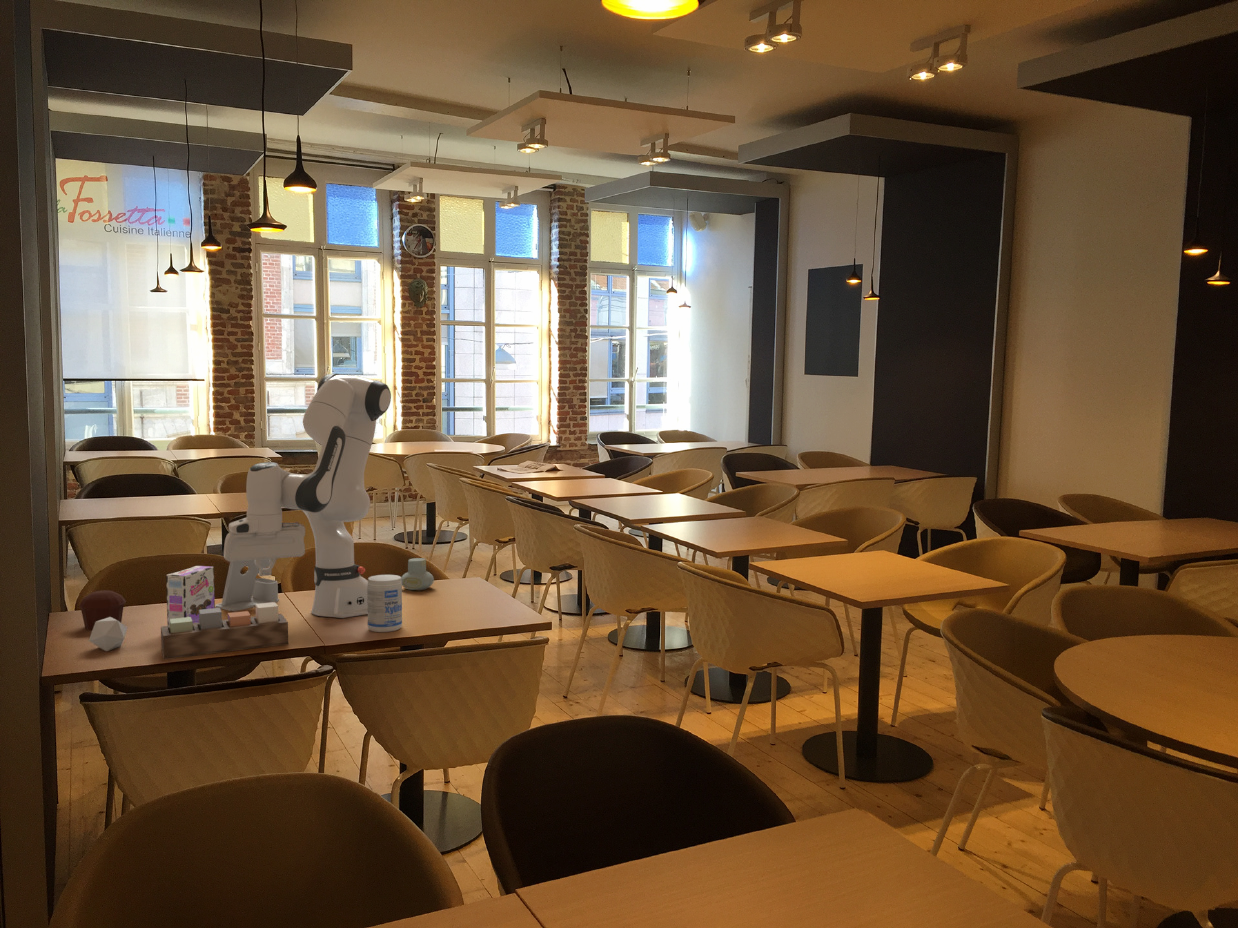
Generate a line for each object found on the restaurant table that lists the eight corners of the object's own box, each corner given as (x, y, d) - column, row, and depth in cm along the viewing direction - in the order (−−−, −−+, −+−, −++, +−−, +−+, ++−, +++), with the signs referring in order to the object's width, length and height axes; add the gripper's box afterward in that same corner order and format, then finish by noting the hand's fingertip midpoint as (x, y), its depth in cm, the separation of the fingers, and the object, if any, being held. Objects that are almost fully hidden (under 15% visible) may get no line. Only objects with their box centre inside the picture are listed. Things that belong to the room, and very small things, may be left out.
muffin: (73, 632, 265) (71, 596, 264) (88, 621, 276) (87, 587, 275) (119, 630, 267) (117, 595, 266) (132, 620, 278) (131, 586, 277)
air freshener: (437, 587, 325) (437, 557, 324) (428, 592, 317) (427, 562, 316) (407, 585, 327) (406, 556, 326) (396, 590, 319) (396, 561, 318)
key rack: (281, 634, 264) (281, 613, 264) (288, 644, 255) (287, 621, 255) (161, 649, 250) (160, 626, 249) (164, 659, 241) (163, 635, 241)
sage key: (191, 635, 251) (190, 616, 250) (193, 640, 246) (192, 621, 246) (170, 637, 248) (169, 618, 248) (171, 642, 244) (171, 623, 243)
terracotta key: (248, 629, 257) (247, 610, 257) (250, 633, 253) (250, 615, 253) (228, 631, 255) (227, 612, 255) (230, 635, 251) (230, 617, 250)
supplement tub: (390, 634, 266) (390, 582, 264) (360, 631, 269) (360, 579, 267) (408, 625, 275) (408, 575, 274) (379, 622, 278) (378, 573, 277)
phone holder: (262, 596, 309) (261, 541, 308) (282, 600, 304) (281, 544, 302) (213, 606, 295) (211, 549, 293) (233, 611, 289) (231, 552, 288)
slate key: (219, 626, 254) (219, 607, 253) (222, 630, 250) (221, 611, 249) (199, 628, 251) (198, 609, 251) (201, 632, 247) (200, 613, 247)
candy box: (185, 634, 264) (183, 575, 263) (166, 632, 265) (164, 574, 264) (216, 621, 278) (214, 565, 276) (198, 620, 279) (196, 564, 277)
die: (109, 644, 256) (84, 620, 251) (137, 628, 256) (113, 604, 251) (103, 663, 249) (77, 639, 244) (132, 647, 249) (107, 622, 244)
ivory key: (275, 620, 261) (274, 602, 260) (278, 624, 256) (278, 605, 256) (255, 622, 258) (255, 603, 258) (258, 626, 254) (258, 608, 253)
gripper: (302, 520, 262) (303, 570, 264) (222, 524, 253) (223, 576, 254) (307, 523, 257) (307, 574, 258) (225, 527, 247) (226, 580, 248)
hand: (265, 575), depth 256 cm, fingers closed
